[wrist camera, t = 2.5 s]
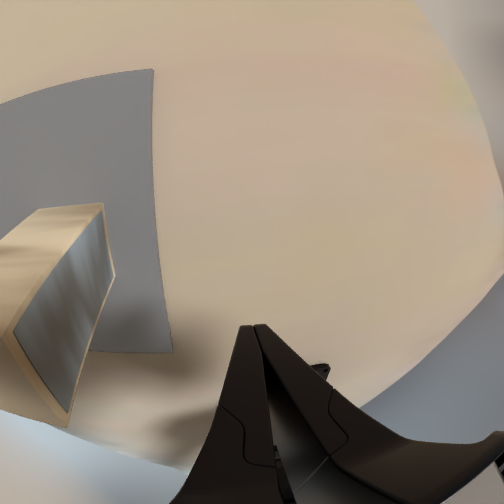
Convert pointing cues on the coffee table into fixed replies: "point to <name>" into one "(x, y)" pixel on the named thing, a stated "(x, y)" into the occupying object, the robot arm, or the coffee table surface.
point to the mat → (94, 189)
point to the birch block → (50, 307)
